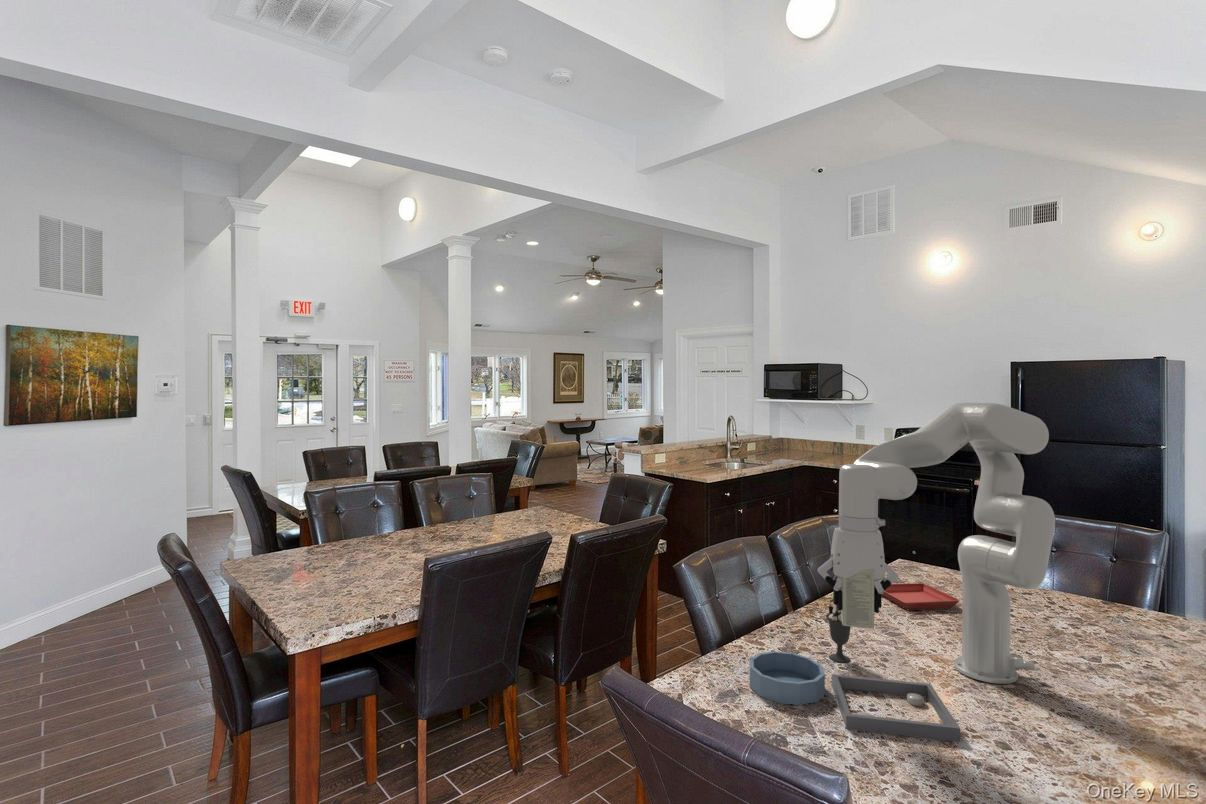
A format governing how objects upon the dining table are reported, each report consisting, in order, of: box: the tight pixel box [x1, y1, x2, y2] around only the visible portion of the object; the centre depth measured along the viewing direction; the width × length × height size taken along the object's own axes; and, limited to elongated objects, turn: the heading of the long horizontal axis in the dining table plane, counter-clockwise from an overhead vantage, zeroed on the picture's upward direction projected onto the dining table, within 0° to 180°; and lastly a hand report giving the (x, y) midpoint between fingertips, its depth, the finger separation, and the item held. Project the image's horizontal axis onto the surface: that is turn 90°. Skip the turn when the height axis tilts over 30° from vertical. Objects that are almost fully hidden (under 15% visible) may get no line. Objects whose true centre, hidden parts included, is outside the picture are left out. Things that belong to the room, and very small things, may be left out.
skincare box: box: [841, 570, 875, 630], centre depth 126 cm, size 6×4×12 cm
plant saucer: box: [882, 582, 961, 611], centre depth 191 cm, size 18×18×3 cm
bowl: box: [749, 650, 826, 706], centre depth 134 cm, size 16×16×4 cm
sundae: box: [825, 605, 852, 664], centre depth 148 cm, size 7×7×15 cm
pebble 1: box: [855, 711, 873, 716], centre depth 119 cm, size 3×3×1 cm
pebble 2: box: [906, 693, 925, 708], centre depth 127 cm, size 3×3×1 cm
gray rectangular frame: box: [831, 673, 962, 743], centre depth 124 cm, size 20×18×2 cm
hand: (856, 608), depth 126 cm, fingers closed on skincare box, 6 cm apart
